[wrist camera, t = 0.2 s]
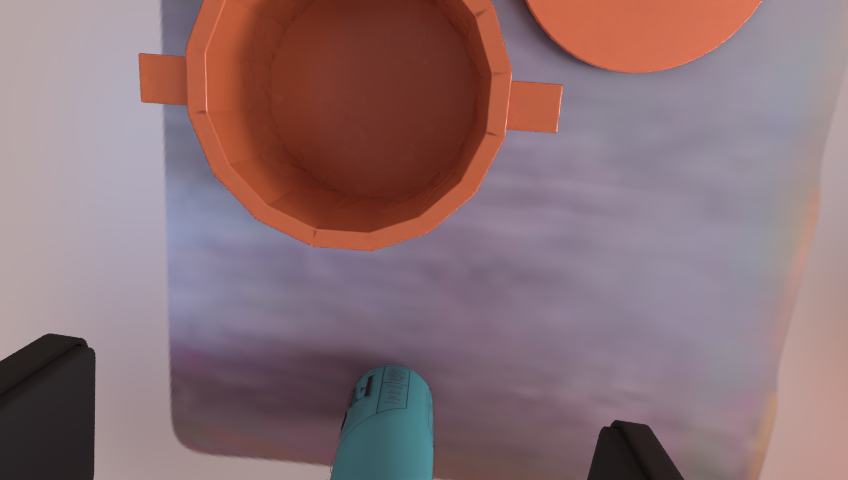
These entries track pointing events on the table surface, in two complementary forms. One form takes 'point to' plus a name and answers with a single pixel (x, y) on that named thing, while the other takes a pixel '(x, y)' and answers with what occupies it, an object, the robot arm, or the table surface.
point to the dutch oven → (349, 110)
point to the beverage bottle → (387, 428)
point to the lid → (640, 29)
